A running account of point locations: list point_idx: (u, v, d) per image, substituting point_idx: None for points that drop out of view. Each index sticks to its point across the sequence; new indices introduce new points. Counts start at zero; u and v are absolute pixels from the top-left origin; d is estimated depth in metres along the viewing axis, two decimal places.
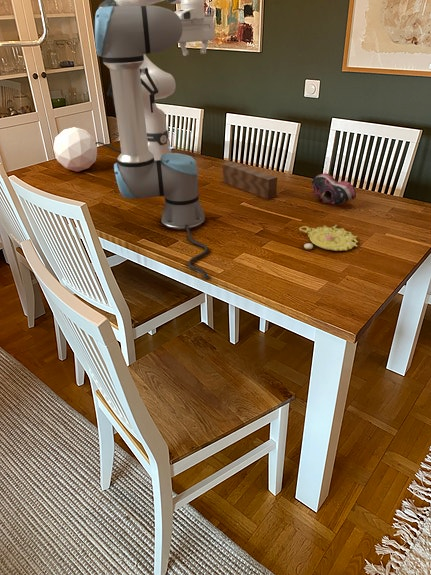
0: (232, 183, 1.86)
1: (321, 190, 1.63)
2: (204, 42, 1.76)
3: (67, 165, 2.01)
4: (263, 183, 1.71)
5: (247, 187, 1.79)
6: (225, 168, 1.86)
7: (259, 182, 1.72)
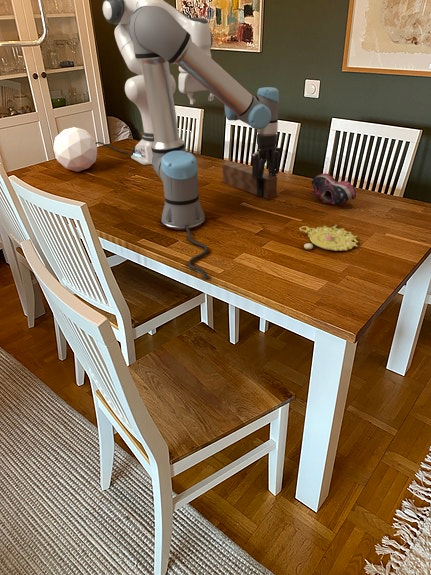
0: (232, 183, 1.86)
1: (321, 190, 1.63)
2: None
3: (67, 165, 2.01)
4: None
5: (247, 187, 1.79)
6: (225, 168, 1.86)
7: None
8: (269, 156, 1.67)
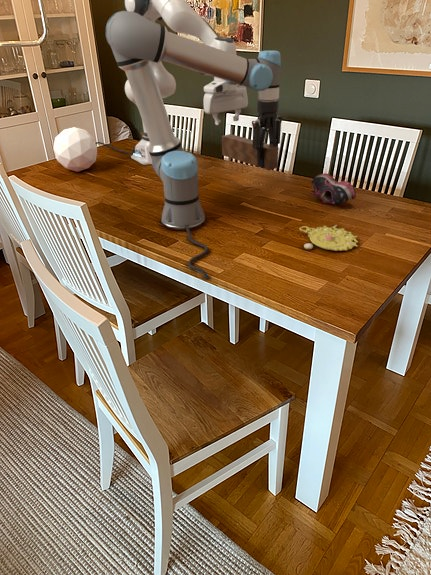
0: (232, 156, 1.79)
1: (321, 190, 1.63)
2: (237, 110, 1.78)
3: (67, 165, 2.01)
4: (264, 153, 1.65)
5: (247, 159, 1.73)
6: (224, 140, 1.79)
7: None
8: (270, 124, 1.61)
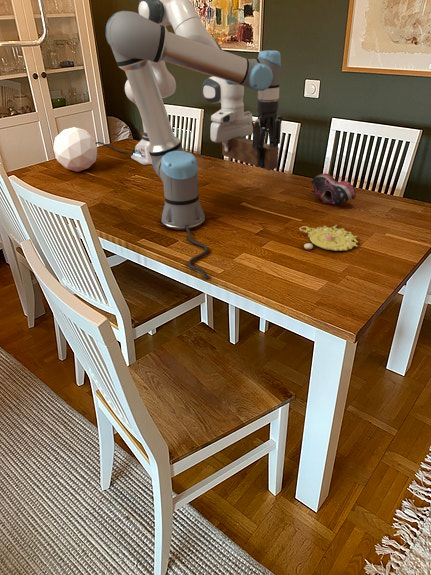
0: (232, 156, 1.79)
1: (321, 190, 1.63)
2: None
3: (67, 165, 2.01)
4: (264, 153, 1.65)
5: (247, 159, 1.73)
6: None
7: None
8: (270, 124, 1.61)
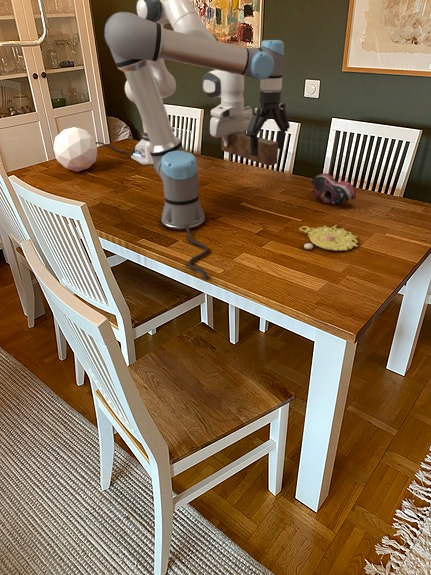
0: (231, 151, 1.79)
1: (321, 190, 1.63)
2: None
3: (67, 165, 2.01)
4: (264, 149, 1.64)
5: (247, 155, 1.72)
6: None
7: (260, 148, 1.65)
8: (272, 116, 1.58)
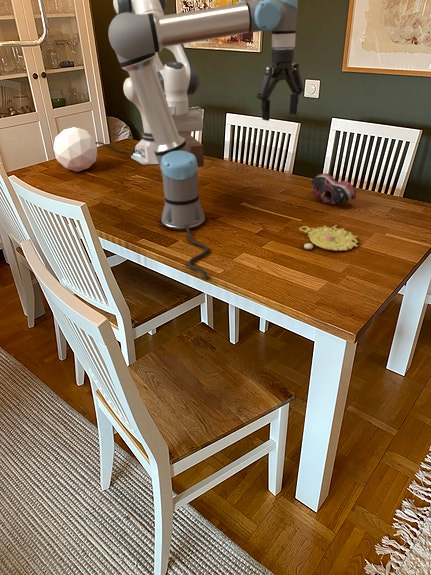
0: None
1: (321, 190, 1.63)
2: None
3: (67, 165, 2.01)
4: (189, 150, 1.63)
5: None
6: None
7: None
8: (285, 76, 1.48)
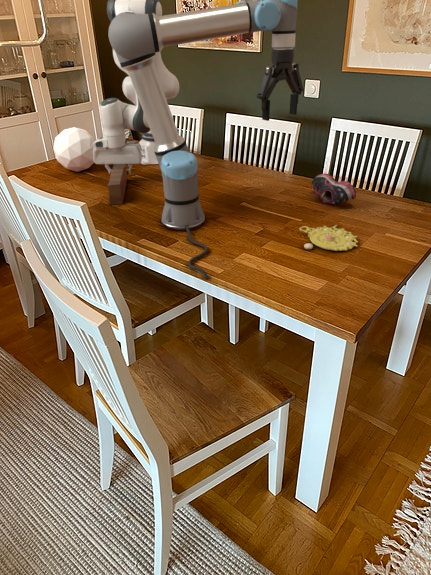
0: None
1: (321, 190, 1.63)
2: None
3: (67, 165, 2.01)
4: None
5: None
6: None
7: None
8: (285, 76, 1.48)
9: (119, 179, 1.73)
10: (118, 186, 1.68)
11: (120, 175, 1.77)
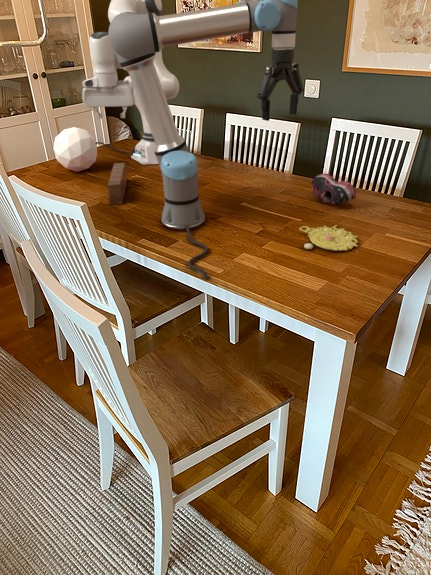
0: None
1: (321, 190, 1.63)
2: None
3: (67, 165, 2.01)
4: None
5: None
6: None
7: None
8: (285, 76, 1.48)
9: (119, 179, 1.73)
10: (118, 186, 1.68)
11: (120, 175, 1.77)
